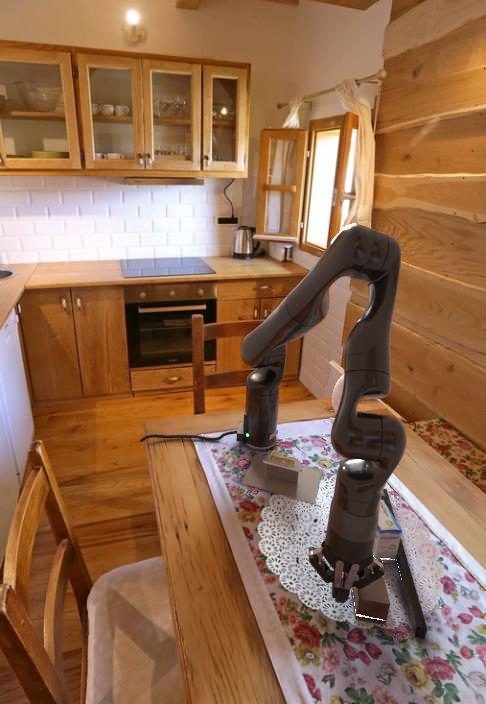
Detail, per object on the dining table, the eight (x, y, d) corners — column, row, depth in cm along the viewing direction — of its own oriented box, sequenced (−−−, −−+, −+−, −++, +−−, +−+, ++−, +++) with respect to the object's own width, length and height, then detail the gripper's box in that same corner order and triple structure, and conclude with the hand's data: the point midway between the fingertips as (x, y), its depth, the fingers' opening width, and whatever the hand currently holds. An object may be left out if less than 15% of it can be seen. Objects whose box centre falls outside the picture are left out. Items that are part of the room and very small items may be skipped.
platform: (255, 454, 111) (256, 433, 109) (322, 471, 105) (324, 450, 103) (241, 483, 100) (242, 461, 98) (314, 504, 94) (317, 481, 92)
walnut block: (355, 619, 70) (359, 599, 68) (351, 592, 74) (354, 572, 73) (385, 625, 69) (390, 604, 67) (379, 597, 74) (383, 576, 72)
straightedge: (414, 637, 67) (417, 626, 66) (378, 496, 97) (379, 487, 96) (424, 639, 67) (427, 628, 66) (385, 497, 97) (386, 488, 96)
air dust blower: (331, 421, 126) (337, 369, 120) (328, 408, 134) (335, 358, 128) (357, 424, 125) (365, 372, 119) (353, 411, 132) (360, 360, 126)
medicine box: (357, 531, 87) (363, 499, 84) (377, 530, 88) (383, 498, 85) (373, 564, 80) (380, 531, 77) (395, 563, 80) (403, 529, 77)
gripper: (390, 511, 69) (374, 585, 74) (310, 498, 71) (300, 572, 76) (400, 548, 62) (382, 627, 67) (311, 533, 64) (301, 611, 70)
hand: (338, 598), depth 72 cm, fingers closed
